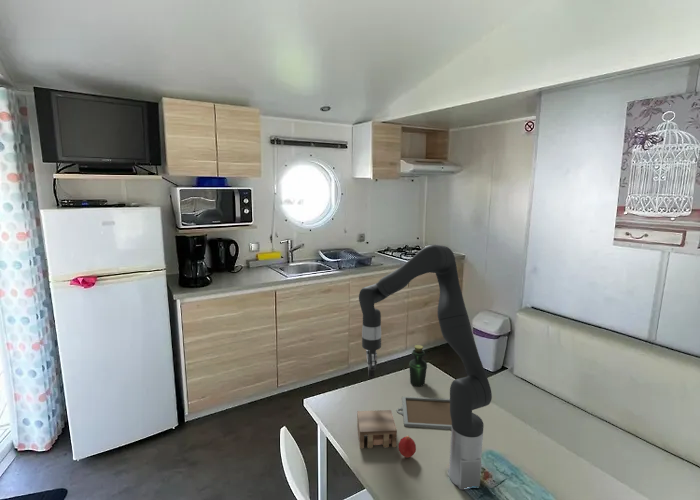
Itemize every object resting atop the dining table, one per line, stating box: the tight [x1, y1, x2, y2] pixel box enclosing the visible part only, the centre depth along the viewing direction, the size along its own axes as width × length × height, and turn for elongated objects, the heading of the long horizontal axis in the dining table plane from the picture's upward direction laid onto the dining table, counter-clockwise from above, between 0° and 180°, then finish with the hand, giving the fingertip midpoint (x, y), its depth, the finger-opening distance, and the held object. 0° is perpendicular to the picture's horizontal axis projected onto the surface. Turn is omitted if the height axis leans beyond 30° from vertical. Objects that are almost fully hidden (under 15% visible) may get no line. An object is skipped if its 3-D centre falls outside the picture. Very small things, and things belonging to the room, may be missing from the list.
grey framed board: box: [395, 395, 452, 430], centre depth 148 cm, size 19×2×30 cm
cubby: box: [356, 409, 398, 449], centre depth 134 cm, size 12×13×6 cm
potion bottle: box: [408, 344, 428, 388], centre depth 170 cm, size 8×8×18 cm
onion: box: [397, 435, 417, 459], centre depth 123 cm, size 6×6×8 cm
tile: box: [373, 434, 392, 446], centre depth 136 cm, size 13×6×2 cm, turn 7°
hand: (371, 377), depth 146 cm, fingers closed
